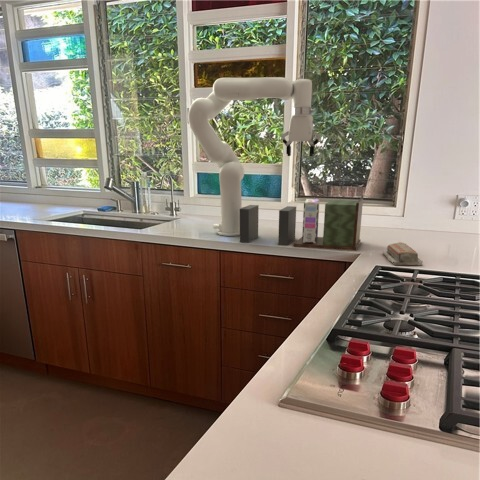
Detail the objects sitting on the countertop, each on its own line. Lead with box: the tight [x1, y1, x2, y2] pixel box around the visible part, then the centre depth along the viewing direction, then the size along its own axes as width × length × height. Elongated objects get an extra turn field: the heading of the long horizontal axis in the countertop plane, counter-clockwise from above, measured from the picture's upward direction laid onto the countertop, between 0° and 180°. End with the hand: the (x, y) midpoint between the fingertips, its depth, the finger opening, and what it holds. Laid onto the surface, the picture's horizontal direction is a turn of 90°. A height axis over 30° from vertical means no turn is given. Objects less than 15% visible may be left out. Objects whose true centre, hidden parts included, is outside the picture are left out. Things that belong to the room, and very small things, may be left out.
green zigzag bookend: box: [293, 197, 364, 251], centre depth 190 cm, size 25×17×18 cm
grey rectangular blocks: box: [239, 204, 297, 246], centre depth 198 cm, size 21×14×14 cm, turn 71°
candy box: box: [301, 198, 320, 243], centre depth 192 cm, size 14×6×16 cm, turn 168°
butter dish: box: [381, 242, 423, 266], centre depth 166 cm, size 18×5×10 cm
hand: (299, 156), depth 199 cm, fingers open, 9 cm apart
